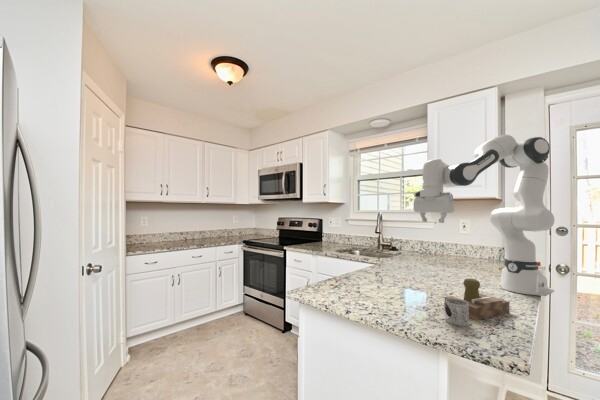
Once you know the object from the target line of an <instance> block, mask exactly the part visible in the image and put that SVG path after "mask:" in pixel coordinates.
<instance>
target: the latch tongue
mask: <svg viewBox="0 0 600 400" xmlns="http://www.w3.org/2000/svg"><path fill="white" fill-rule="evenodd" d="M491 297H492V296H491ZM491 297H482V298H476V299H472V303H475V301H477V300H483V299H489V298H491Z"/></svg>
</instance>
